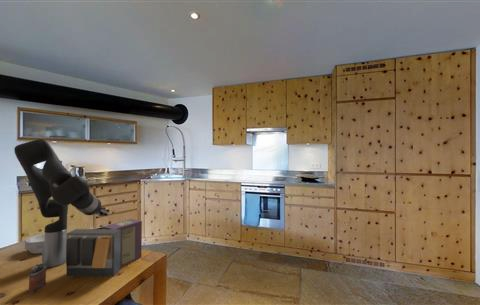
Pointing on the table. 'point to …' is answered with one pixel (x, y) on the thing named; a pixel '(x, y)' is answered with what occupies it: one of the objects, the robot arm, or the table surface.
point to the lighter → (37, 278)
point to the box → (129, 239)
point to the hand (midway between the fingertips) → (100, 213)
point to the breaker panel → (91, 252)
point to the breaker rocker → (100, 253)
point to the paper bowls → (35, 244)
